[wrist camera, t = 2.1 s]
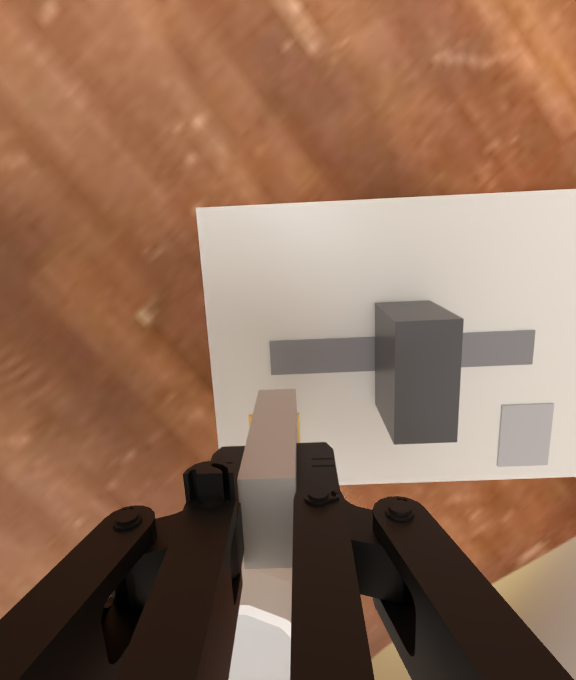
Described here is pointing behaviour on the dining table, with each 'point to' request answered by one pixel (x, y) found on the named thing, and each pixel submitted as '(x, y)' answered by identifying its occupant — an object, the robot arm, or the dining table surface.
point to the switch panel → (397, 286)
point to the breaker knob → (418, 371)
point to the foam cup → (263, 626)
